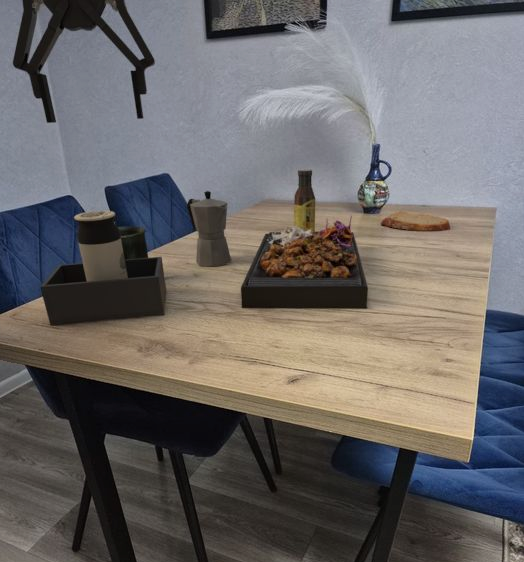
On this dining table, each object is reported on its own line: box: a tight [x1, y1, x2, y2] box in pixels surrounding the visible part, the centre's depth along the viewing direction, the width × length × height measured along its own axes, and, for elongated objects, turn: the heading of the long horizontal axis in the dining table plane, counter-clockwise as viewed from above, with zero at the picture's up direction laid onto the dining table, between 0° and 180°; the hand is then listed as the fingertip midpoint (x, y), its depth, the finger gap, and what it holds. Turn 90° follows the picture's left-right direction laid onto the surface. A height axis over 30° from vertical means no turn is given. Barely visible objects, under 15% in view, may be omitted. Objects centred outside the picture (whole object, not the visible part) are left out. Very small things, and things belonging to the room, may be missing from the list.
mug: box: [117, 225, 149, 259], centre depth 109 cm, size 11×15×12 cm
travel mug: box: [73, 210, 128, 282], centre depth 94 cm, size 8×8×18 cm
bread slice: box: [380, 211, 451, 232], centre depth 152 cm, size 18×18×4 cm
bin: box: [39, 256, 167, 326], centre depth 96 cm, size 22×15×8 cm
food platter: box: [240, 214, 369, 309], centre depth 111 cm, size 45×25×10 cm, turn 174°
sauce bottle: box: [293, 169, 316, 232], centre depth 138 cm, size 6×6×20 cm
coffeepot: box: [186, 190, 232, 268], centre depth 121 cm, size 15×9×18 cm, turn 45°
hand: (96, 121), depth 74 cm, fingers open, 13 cm apart
